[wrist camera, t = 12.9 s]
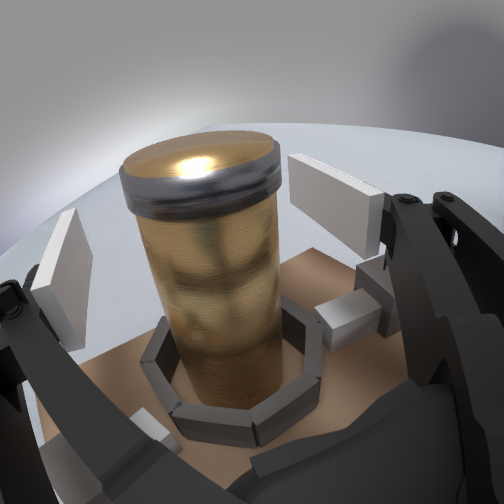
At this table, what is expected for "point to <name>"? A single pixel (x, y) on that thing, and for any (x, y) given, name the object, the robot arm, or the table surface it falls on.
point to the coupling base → (271, 409)
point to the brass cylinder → (215, 257)
